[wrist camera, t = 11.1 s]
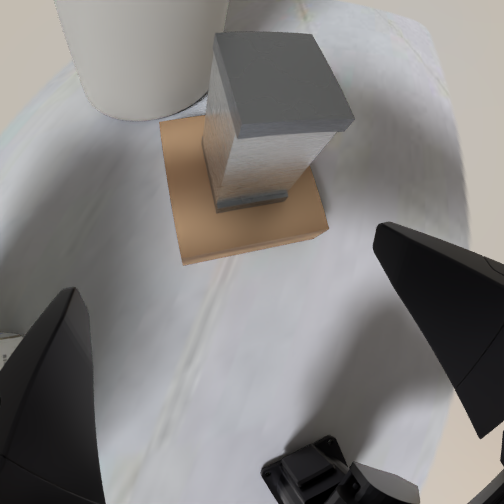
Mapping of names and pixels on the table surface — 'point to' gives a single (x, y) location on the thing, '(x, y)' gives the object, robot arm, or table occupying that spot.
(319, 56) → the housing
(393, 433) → the table surface
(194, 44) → the cylinder vase
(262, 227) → the stand
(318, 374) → the table surface
